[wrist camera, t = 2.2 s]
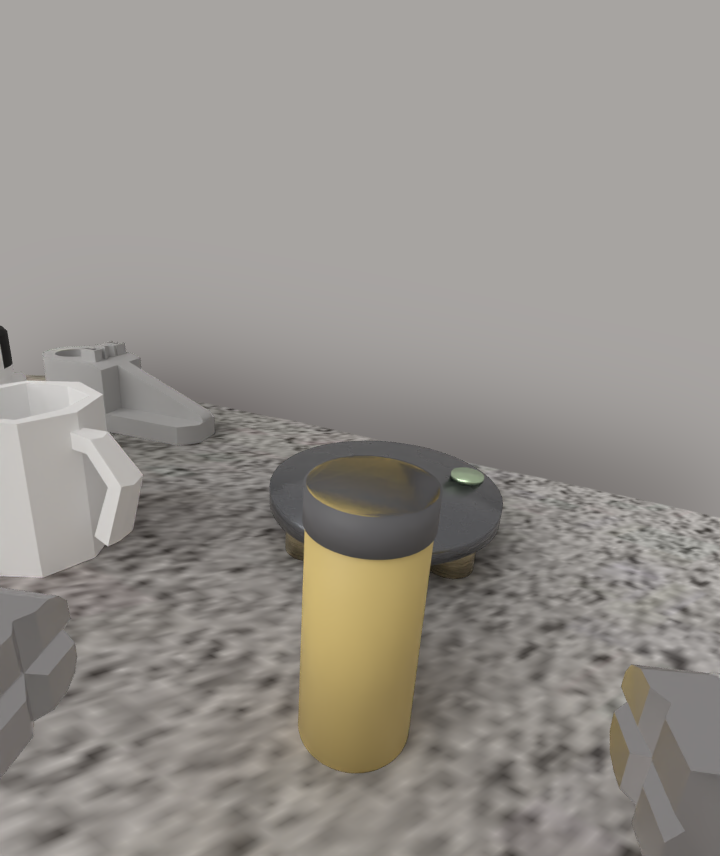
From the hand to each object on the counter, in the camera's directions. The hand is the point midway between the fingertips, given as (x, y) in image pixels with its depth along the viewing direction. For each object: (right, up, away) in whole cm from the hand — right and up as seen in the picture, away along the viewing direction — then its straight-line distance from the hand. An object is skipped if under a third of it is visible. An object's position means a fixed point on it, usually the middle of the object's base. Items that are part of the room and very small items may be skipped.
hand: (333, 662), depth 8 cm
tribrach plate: (+2, -4, +32) cm, 32 cm away
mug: (-19, -5, +28) cm, 34 cm away
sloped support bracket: (-23, +3, +49) cm, 54 cm away
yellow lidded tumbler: (0, -10, +17) cm, 19 cm away
